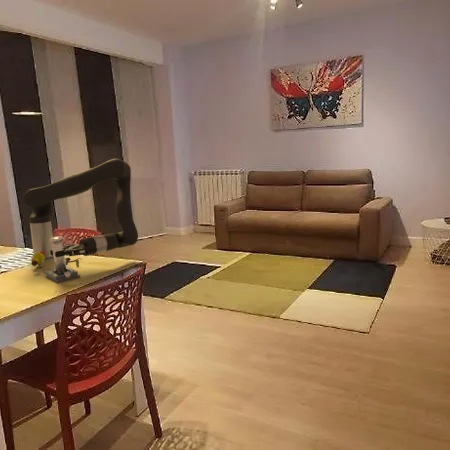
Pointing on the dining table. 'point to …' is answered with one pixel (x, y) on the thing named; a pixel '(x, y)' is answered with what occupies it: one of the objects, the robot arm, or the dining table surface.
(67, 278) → the chain end lower
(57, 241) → the steel pin
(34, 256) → the toy figure
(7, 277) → the dining table surface
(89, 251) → the robot arm
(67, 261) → the hacksaw
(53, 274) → the chain end upper
